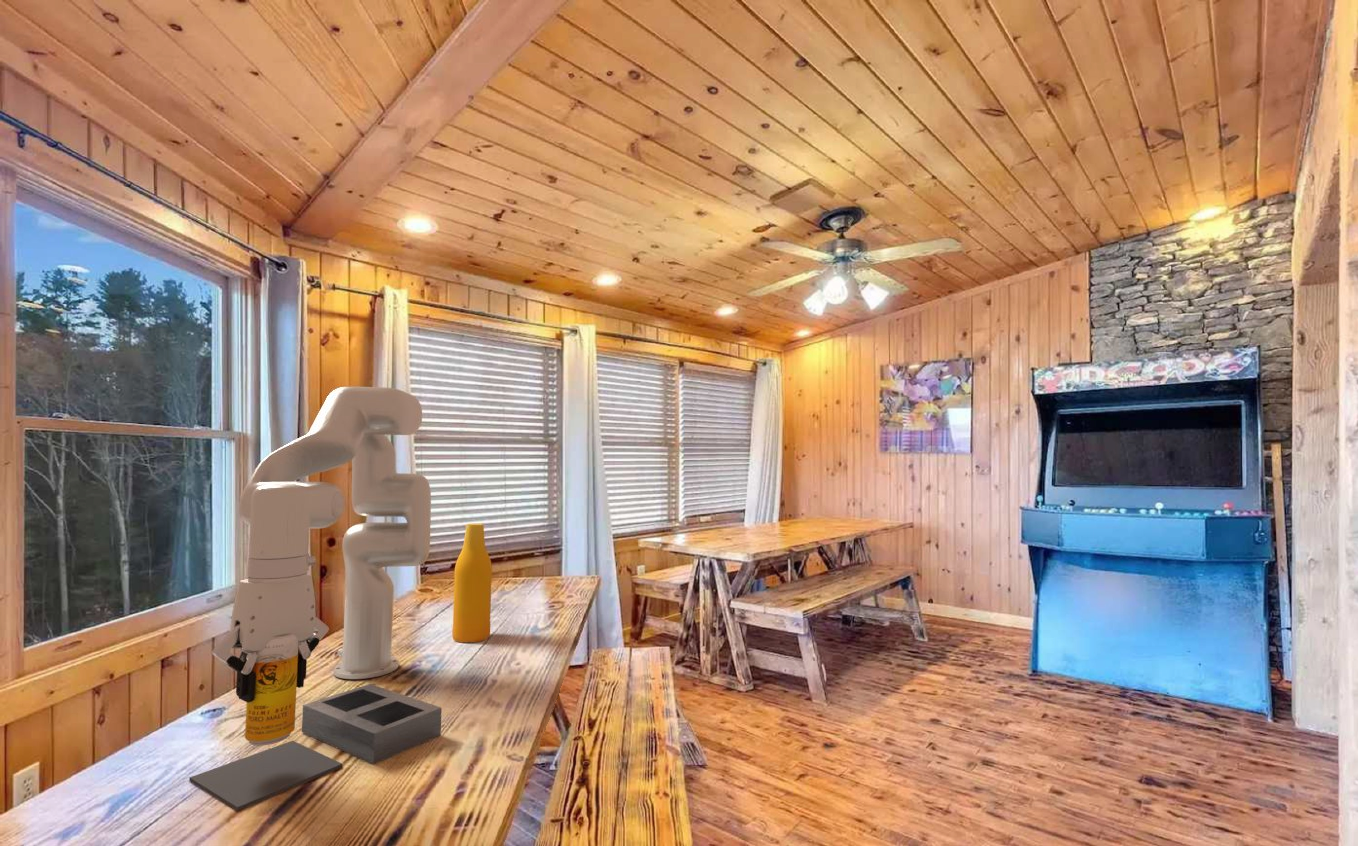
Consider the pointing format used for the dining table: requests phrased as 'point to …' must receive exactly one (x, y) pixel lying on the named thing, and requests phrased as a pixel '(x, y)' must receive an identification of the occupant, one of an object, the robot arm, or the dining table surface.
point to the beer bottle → (472, 588)
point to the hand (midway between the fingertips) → (271, 691)
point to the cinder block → (371, 722)
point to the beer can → (273, 693)
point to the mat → (264, 774)
